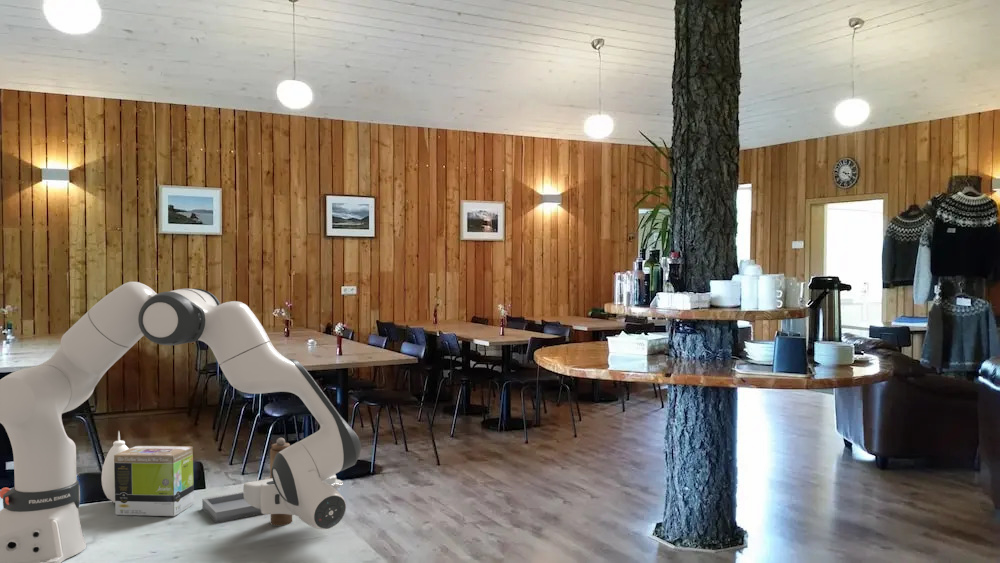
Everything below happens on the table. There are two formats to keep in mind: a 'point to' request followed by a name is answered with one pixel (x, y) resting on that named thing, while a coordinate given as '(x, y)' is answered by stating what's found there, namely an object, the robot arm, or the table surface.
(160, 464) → the tea box
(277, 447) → the pepper mill
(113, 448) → the sauce bottle
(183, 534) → the table surface
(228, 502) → the serving tray
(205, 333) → the robot arm
